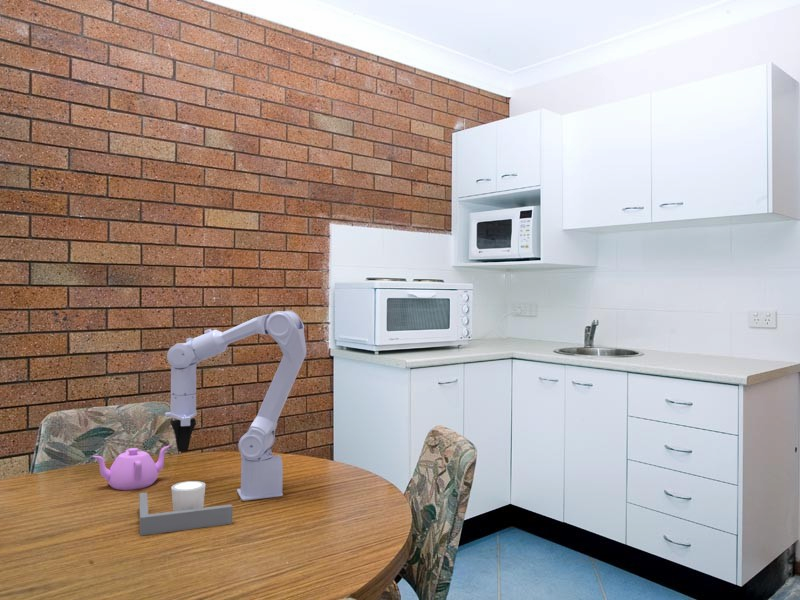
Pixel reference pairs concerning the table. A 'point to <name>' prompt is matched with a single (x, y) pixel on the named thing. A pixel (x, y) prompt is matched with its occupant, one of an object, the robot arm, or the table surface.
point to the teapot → (132, 469)
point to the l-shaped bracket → (181, 518)
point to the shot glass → (188, 495)
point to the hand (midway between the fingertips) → (182, 450)
